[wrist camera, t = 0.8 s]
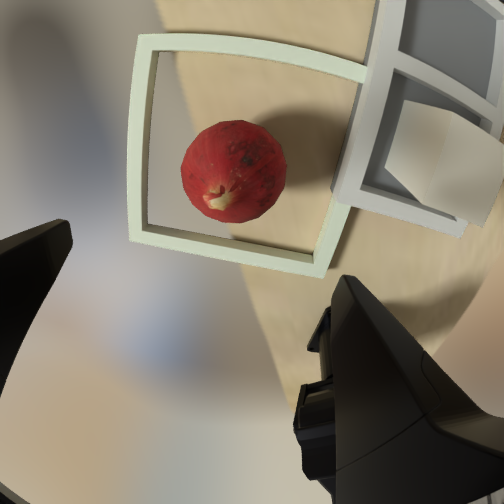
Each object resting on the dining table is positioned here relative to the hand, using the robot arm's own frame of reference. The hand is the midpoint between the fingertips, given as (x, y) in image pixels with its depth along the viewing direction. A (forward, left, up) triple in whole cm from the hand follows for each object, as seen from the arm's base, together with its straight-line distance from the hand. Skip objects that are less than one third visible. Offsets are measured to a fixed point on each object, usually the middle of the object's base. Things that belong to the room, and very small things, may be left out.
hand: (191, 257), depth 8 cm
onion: (0, 0, -13) cm, 13 cm away
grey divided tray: (+9, -12, -12) cm, 19 cm away
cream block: (+4, -12, -11) cm, 17 cm away
